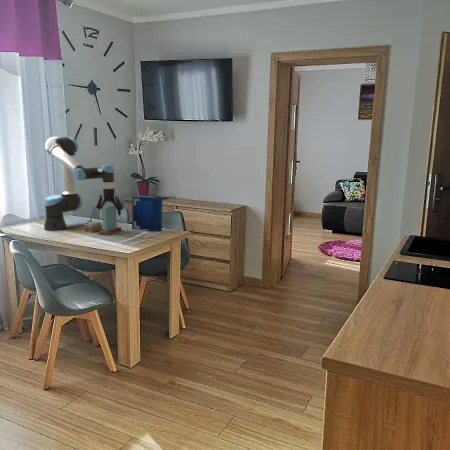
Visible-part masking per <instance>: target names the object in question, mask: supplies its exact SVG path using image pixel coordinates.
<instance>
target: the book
mask: <svg viewBox="0 0 450 450" xmlns="http://www.w3.org/2000/svg"><path fill="white" fill-rule="evenodd" d="M131 201H132V202H131V206H132V207H131V212H132V213H131V214H132V215H131V218H132V219H131V229H132V230H143V231H144V230H146V231H147V232H155V231H156V232H160V231H162V229H163V197H161V196H155V195H145V194H134V195H132V199H131Z"/></svg>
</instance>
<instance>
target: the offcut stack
mask: <svg viewBox="0 0 450 450" xmlns="http://www.w3.org/2000/svg"><path fill="white" fill-rule="evenodd" d="M101 230H103V227H102V222H101V221H94V222H89V223H85V224H84V230H83V232H84V233H94V232H98V231H101Z"/></svg>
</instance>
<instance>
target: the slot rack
mask: <svg viewBox="0 0 450 450" xmlns="http://www.w3.org/2000/svg"><path fill="white" fill-rule="evenodd" d="M125 231H126V230H125V229H122V227H120V226H117V228H116V229H113V230H110V231H107V232H104V231H103V229H101V230H98V231H97V232H96V233H95V235H97V236H107V237H111V236H114V235H117V234H120V233H122V232H125Z"/></svg>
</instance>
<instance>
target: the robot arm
mask: <svg viewBox="0 0 450 450" xmlns="http://www.w3.org/2000/svg"><path fill="white" fill-rule="evenodd" d="M44 145H45V147H44V148H45V151H46V152H47V154H49V156H51V157H53V158H55V159H56V160H57V161H59V162H60V167H61V179H62V190H63V191H62V192H61V194H53V195H49V196H47V197H46V198H45V199H44V205H45V206H44V207H45V222H44V225H43V229H44V230H45V231H62V230H63V231H64V230H65V229H67V223H66V220H65V219H64V213H70V212H71V213H72V212H75V211H80V209H81V208H82V206H83V199H82V197H81V195H80V194H79V192H78V191H76V189H77V188H76V181H85V180H86V181H87V180H95V179H96V180H97V179H99V180H102V194H100V195H99V198H98V200H97V204H96V206H95V208H96V209H98V214H99V218H100V219H103V207H105V204H106V203H108V202H109V203H111V204H112V205H114V206H115V207H116V220H117V221H119V220H121V215H122V212H121V211H122V210H123V209H124V206H123V204H122V203H121V200H120V196H119V195H115V194H116V192H115V191H116V190H115V171H114V170H115V169H114V166H113V165H112V164H103V165H102V166H101V167H98V166H93V167H84V166H83V165H81V164H80V163H79V162H78V161H77V160H76V159H75V156H76V153H77V152H78V150H79V149H78V148H79V145H78V142H77V140H76V139H75V138H74V137H71V136H51V137H49V138H48V139H47V140H46V142H45V144H44Z"/></svg>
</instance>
